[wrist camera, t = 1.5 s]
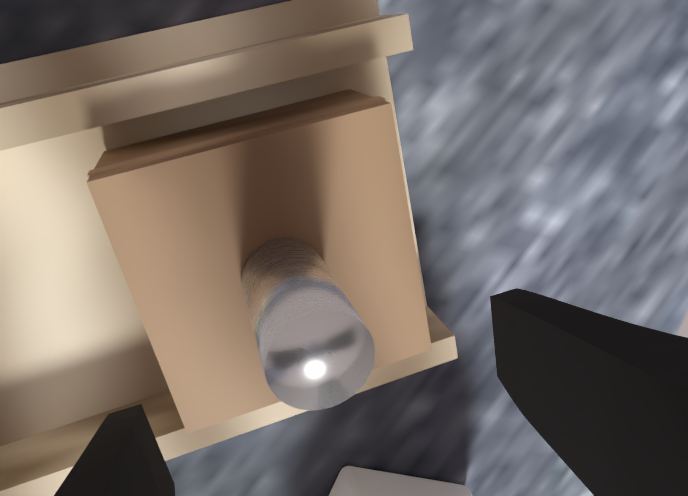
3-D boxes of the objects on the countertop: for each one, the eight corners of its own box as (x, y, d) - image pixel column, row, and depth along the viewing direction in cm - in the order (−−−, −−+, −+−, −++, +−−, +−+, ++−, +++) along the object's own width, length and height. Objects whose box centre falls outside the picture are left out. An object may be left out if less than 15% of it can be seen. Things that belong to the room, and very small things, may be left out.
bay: (-73, 503, 21) (-115, 586, 18) (-322, 135, 16) (-448, 162, 12) (424, 335, 25) (461, 380, 22) (364, -16, 19) (402, -25, 16)
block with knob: (183, 365, 21) (190, 564, 13) (101, 149, 18) (45, 245, 10) (391, 298, 22) (508, 442, 14) (350, 87, 19) (474, 126, 11)
